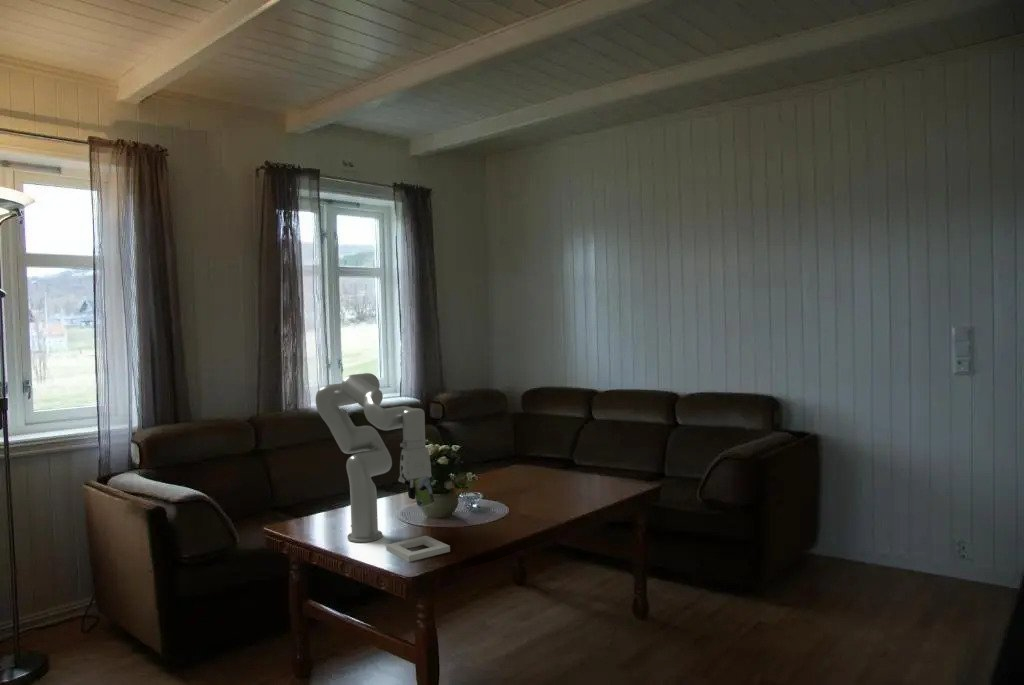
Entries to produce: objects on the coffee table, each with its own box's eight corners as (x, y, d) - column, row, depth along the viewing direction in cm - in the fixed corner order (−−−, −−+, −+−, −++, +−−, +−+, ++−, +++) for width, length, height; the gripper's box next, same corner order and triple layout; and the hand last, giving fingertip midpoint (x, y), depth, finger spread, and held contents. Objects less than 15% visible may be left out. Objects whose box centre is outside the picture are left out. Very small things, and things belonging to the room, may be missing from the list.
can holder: (386, 550, 254) (386, 544, 254) (426, 540, 264) (426, 535, 263) (408, 562, 241) (408, 556, 241) (450, 551, 251) (449, 545, 251)
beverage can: (437, 505, 253) (435, 470, 253) (420, 509, 248) (417, 474, 248) (427, 502, 258) (424, 468, 258) (410, 507, 253) (407, 472, 253)
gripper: (398, 449, 243) (400, 503, 244) (440, 443, 253) (441, 495, 254) (388, 446, 249) (389, 499, 250) (429, 440, 259) (430, 491, 260)
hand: (415, 497), depth 252 cm, fingers closed on beverage can
